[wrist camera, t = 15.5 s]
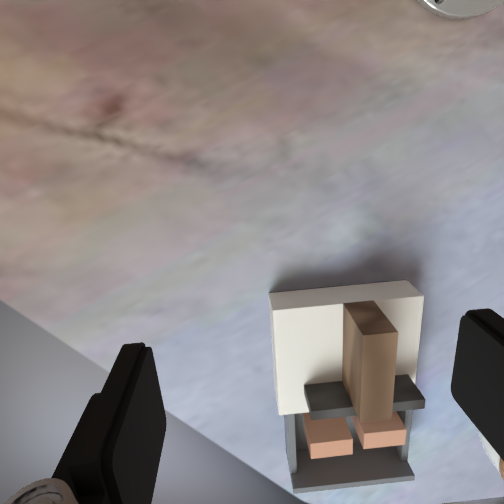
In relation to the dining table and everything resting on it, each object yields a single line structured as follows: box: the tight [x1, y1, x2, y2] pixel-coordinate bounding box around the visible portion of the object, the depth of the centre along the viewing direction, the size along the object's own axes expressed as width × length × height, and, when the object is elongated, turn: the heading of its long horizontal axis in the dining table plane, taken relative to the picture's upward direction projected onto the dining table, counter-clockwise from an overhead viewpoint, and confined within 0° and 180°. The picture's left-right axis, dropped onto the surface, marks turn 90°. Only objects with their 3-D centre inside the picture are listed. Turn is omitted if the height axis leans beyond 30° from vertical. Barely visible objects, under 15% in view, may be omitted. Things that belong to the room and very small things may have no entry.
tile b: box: [302, 412, 353, 459], centre depth 45 cm, size 5×5×2 cm
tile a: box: [350, 411, 406, 449], centre depth 45 cm, size 5×5×2 cm
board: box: [269, 280, 424, 415], centre depth 43 cm, size 16×14×4 cm
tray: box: [284, 410, 415, 494], centre depth 46 cm, size 15×10×6 cm
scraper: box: [304, 300, 425, 422], centre depth 37 cm, size 12×11×6 cm
